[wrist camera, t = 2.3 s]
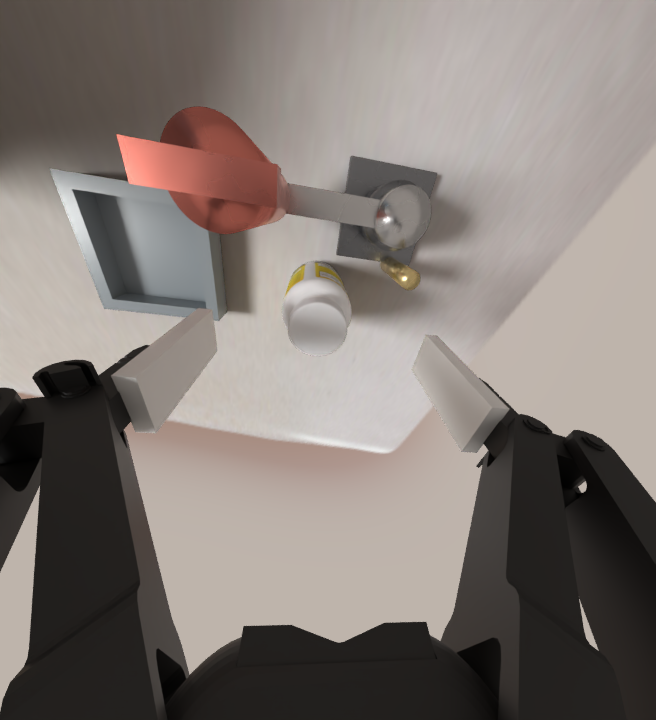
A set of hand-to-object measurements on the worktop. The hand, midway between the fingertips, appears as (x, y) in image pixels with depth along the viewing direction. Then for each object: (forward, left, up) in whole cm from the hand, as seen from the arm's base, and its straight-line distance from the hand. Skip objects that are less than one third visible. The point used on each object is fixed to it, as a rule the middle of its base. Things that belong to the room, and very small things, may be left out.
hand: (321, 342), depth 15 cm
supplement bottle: (0, 0, -11) cm, 11 cm away
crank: (0, +7, -6) cm, 10 cm away
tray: (-14, +2, -11) cm, 18 cm away
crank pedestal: (+5, +7, -11) cm, 14 cm away
